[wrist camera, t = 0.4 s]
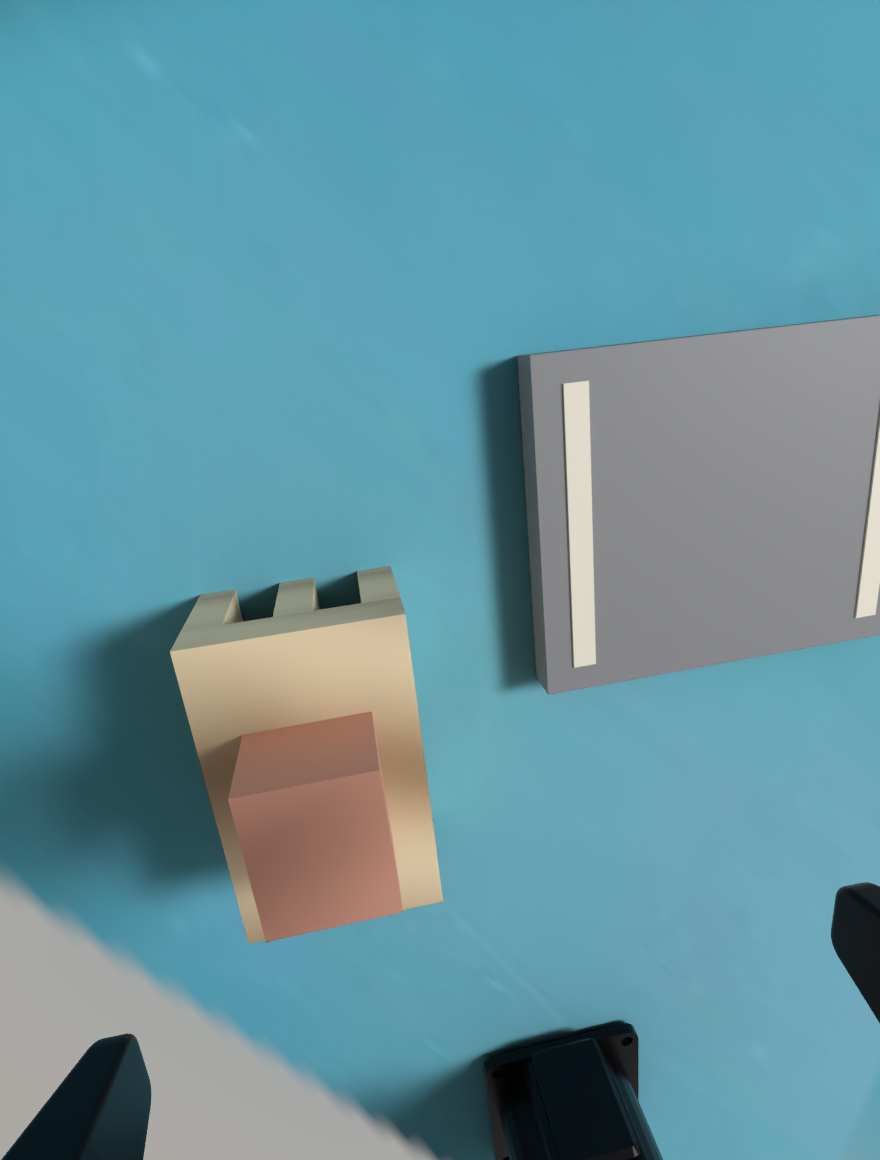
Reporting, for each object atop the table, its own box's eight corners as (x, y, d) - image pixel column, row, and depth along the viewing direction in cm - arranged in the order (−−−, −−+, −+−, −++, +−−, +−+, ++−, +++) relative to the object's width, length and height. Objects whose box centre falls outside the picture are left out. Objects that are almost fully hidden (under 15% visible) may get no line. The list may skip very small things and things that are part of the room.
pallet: (423, 810, 22) (443, 901, 19) (261, 843, 22) (248, 943, 18) (390, 565, 19) (405, 614, 16) (201, 593, 19) (170, 651, 15)
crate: (393, 838, 18) (403, 911, 15) (274, 863, 17) (265, 942, 15) (372, 711, 16) (379, 770, 14) (242, 735, 16) (228, 799, 14)
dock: (865, 618, 23) (895, 632, 21) (536, 676, 21) (549, 695, 20) (905, 311, 19) (943, 308, 18) (517, 355, 18) (530, 355, 17)
